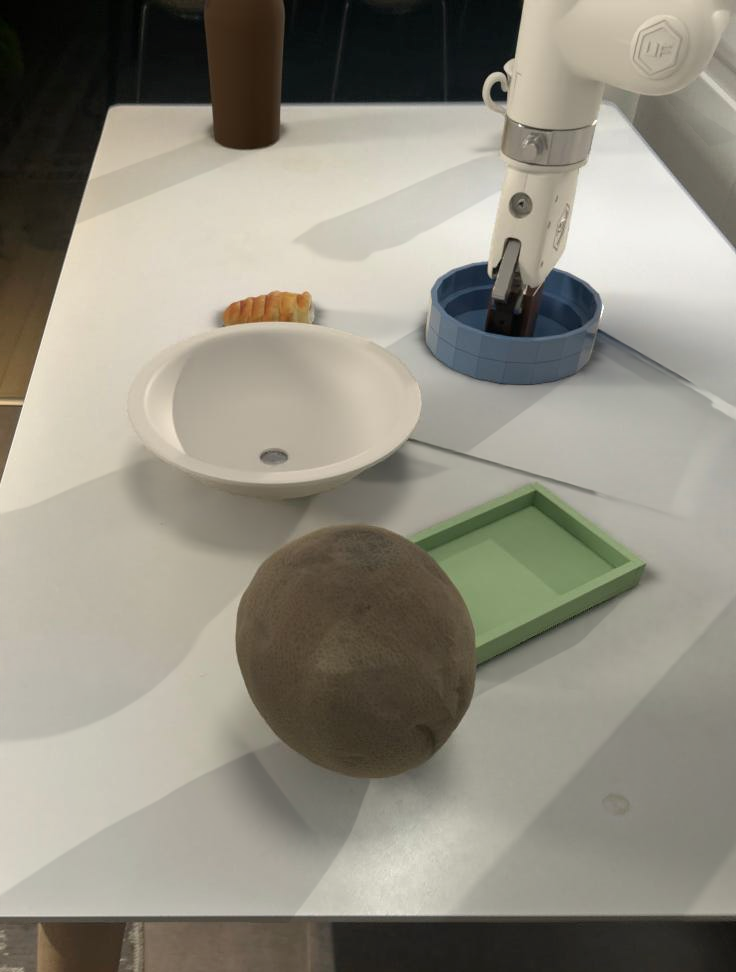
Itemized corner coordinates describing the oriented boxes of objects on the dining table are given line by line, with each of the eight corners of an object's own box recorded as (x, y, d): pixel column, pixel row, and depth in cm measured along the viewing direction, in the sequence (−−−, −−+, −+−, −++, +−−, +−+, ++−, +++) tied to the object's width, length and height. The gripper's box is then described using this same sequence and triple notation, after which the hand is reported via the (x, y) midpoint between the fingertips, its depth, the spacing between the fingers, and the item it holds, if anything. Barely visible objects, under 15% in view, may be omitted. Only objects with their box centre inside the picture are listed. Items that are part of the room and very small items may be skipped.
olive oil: (250, 157, 131) (246, -66, 113) (194, 140, 136) (182, -76, 118) (299, 136, 136) (302, -80, 118) (244, 120, 141) (239, -90, 123)
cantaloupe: (448, 657, 66) (482, 482, 55) (466, 833, 56) (512, 662, 46) (246, 650, 67) (240, 476, 56) (229, 821, 57) (219, 651, 46)
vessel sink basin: (105, 538, 76) (93, 470, 71) (165, 378, 92) (159, 314, 87) (409, 563, 73) (419, 494, 68) (416, 393, 89) (424, 328, 85)
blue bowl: (513, 292, 103) (522, 247, 99) (625, 358, 93) (639, 310, 90) (392, 333, 97) (397, 286, 94) (499, 407, 88) (508, 358, 84)
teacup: (460, 138, 135) (470, 58, 128) (559, 130, 137) (575, 50, 130) (489, 170, 127) (502, 86, 120) (595, 160, 129) (614, 77, 121)
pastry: (220, 345, 96) (218, 309, 93) (225, 313, 101) (224, 278, 98) (313, 347, 96) (314, 311, 93) (314, 314, 100) (315, 279, 98)
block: (495, 327, 97) (505, 270, 92) (533, 336, 95) (545, 278, 91) (481, 345, 94) (491, 287, 90) (520, 354, 93) (532, 296, 89)
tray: (531, 502, 78) (536, 481, 76) (639, 583, 71) (646, 562, 70) (356, 579, 72) (357, 558, 70) (454, 677, 65) (459, 656, 63)
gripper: (561, 180, 75) (518, 385, 88) (615, 115, 85) (569, 308, 98) (471, 164, 78) (442, 366, 91) (533, 103, 88) (499, 292, 101)
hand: (508, 334), depth 94 cm, fingers closed on block, 4 cm apart
